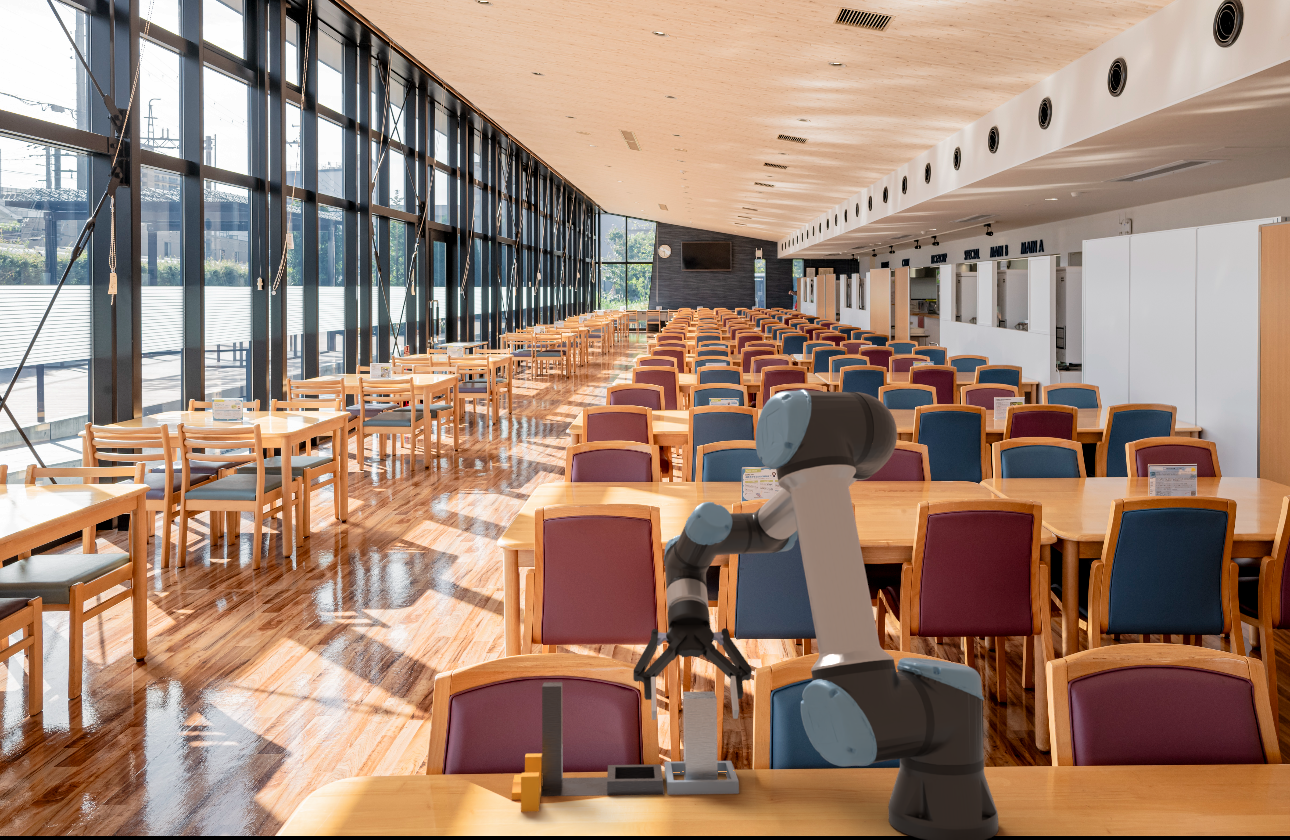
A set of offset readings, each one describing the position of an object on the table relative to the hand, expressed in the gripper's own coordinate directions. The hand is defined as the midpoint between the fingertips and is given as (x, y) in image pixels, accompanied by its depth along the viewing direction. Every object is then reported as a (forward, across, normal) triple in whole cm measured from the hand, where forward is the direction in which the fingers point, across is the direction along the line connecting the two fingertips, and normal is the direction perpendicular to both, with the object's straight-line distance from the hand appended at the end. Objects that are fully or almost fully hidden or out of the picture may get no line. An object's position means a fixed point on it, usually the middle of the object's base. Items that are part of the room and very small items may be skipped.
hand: (695, 715), depth 168 cm
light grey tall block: (+11, 0, -2) cm, 11 cm away
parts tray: (+12, 0, -3) cm, 12 cm away
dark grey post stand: (+12, +15, -3) cm, 20 cm away
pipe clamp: (+16, +27, +1) cm, 31 cm away
